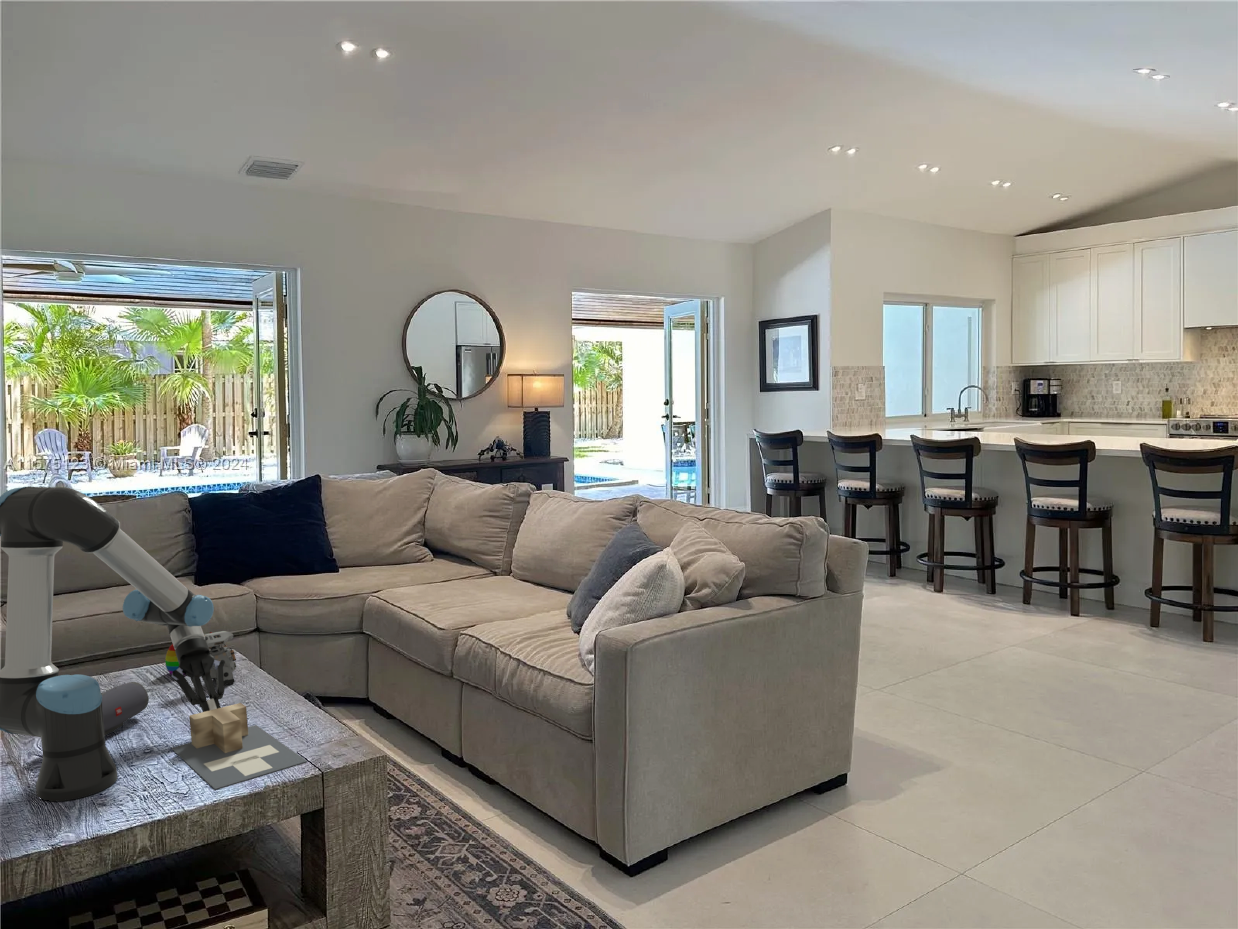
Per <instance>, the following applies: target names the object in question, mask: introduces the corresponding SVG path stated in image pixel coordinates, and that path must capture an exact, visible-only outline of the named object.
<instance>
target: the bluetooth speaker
mask: <svg viewBox="0 0 1238 929" xmlns="http://www.w3.org/2000/svg"><path fill="white" fill-rule="evenodd" d="M101 695H102V709H103V722H104V736H107V735H110V734H111V733H114V732H115V731H117V730H119V729H120V728H122V727H124V725H125V723H126V722H127V721H128V720H130V719H132V718H134V717H135V716H137V715H138V714H140V713H142V711H144V710H145V709H147V706H148V704H149V700H150V698H149V694H148V692H147V690H146V687H144V686H143V685H142V683H140V682H137V681H130V682H126V683H123V684H120V685H118V686H115V687H112V688H110V689H108V690H104V691H103V692H102V691H101Z"/></svg>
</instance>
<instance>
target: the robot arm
mask: <svg viewBox="0 0 1238 929" xmlns="http://www.w3.org/2000/svg"><path fill="white" fill-rule="evenodd" d="M0 539H1V540H0V549H1V550H2V551H3V552H4V553H5V554H6V555H7V557H8V568H7V569H8V570H7V572H8V573H7V574H8V575H7V593H6V594H7V595H6V596H7V597H6V598H7V600H6V625H5V626H6V627H5V649H4V650H5V652H4V653H5V654H4V657H5V658H4V666H3V667H2V668H1V669H0V731H1V732H4V733H8V734H10V735H12V734H13V735H22V736H30V737H35V738H40V742H41V750H42V760H41V761H42V762H41V765H40V768H39V772H38V776H37V779H36V780H37V781H36V783H35V790H36V791H35V792H36V793H35V794H36V797H37V796H38V797H40V798H41V799H44V800H49V801H48V802H65V801H70V800H71V801H72V800H77V799H81V798H85V797H88V796H92V795H94V794H97V793H99V792H102V791H104V790H105V789H106V790H107V789H108V788H109V787H111V786H112V785H114V784H115V783H116V782H117V781H118V769H117V765H116V764H115V762H114V760H113V757H112V756H111V754H110V752H109V750H108V747H107V746H106V738H105V736H106V735H105V736H104V722H103V709H102V695H101V693H102V691H101V686H100V683H99V682H98V680H97V679H95V678H94V677H92V676H89V675H85V674H78V673H77V674H71V675H70V674H61V675H59V673H60V672H59V670H60V669H59V668H58V667H57V666H55V665H54V664H53V663H52V641H53V610H54V607H53V606H54V585H55V584H54V582H55V580H54V578H55V556H56V554H57V553H58V552H59V551H60V550H62V549H63V546H64V545H63V544H64V543H68V544H70V545H73V546H75V547H77V548H78V549H79V550H80V551H82V552H83V553H85V554H93V555H94V556H95V557H97V558H98V559H99V560H101V562H103V563H104V564H106V565H107V566H108V567H109V568H110V569H111V570H112V571H114V572H115V573H116V574H118V575H119V576H120V577H121V578H122V579H123V580H125V581H126V582H127V583H128V584H129V585H131V586H132V587H133V588H135V589H134V590H131V591H130V592H129V593H128V594H127V595H125V597H124V599H123V604H122V612H123V615H124V616H125V617H126V618H128V619H129V620H132V621H133V620H134V621H135V622H141V623H142V622H143V623H148V624H152V625H153V624H154V625H158V626H164V627H166V628H167V631H168V634H169V636H170V639H171V642H172V644H173V646H174V649H175V652H176V656H177V659H178V662H179V667H178V669H177V670H174V671H173V673H172V675H171V680H172V681H173V682H175V683H177V685H178V686H179V687H180V689H181V692H183V693H184V696H186V698H187V700H188V701H189V703H190V704H191V705H192V706H196V705H198V706H199V708H201V710H202V711H201V712H206V711H210V710H214V709H218V708H222V707H221V704H220V701H219V700H221V699H223V697H224V693H225V686H224V678H223V667H224V664H225V661H224V660H221V661H217V660H215V659H214V657H213V656H212V655H211V654H210V649H209V648H208V645H207V642H206V640H205V636H204V634H205V633H204V631H203V628H202V626H204V625H206V624H208V623H209V622H210V620H211V619H212V617H213V615H214V611H215V610H214V609H215V607H214V604H213V601H212V599H211V598H210V597H208V596H206V595H203V594H195V593H194V592H192V591H191V589H188V587H186V586H185V585H184V584H183V583H182V582H181V581H179V580H178V579H177V578H176V577H175V576H174V575H173V574H172V573H171V572H169V570H167V569H166V568H165V567H164V566H163V565H161V563H159V562H158V561H157V559H155V558H154V557H153V556H152V555H150V554H149V553H148V552H147V551H146V550H144V548H142V546H141V545H139V544H138V543H137V542H136V541H135V540H134V539H133V538H132V537H130V536H129V534H127V533H126V532H124V531H123V530H122V529H121V522H120V521H119V520H118V518H116V517H115V516H114V515H113V514H112V513H111V512H109V511H108V510H107V509H106V508H105V507H103V506H102V505H101V504H99V502H97V501H95V500H94V499H93V498H90V496H88V495H86V494H85V493H83V492H81V491H78V490H77V489H72V488H69V487H64V486H56V487H55V486H53V487H52V486H51V487H50V486H31V485H29V486H23V487H15V488H11V489H8V490H7V491H4V492H3V494H1V495H0ZM213 665H214V667H215V670H217V672H216V679H215V680H216V687H215V684H214V682H213V681H214V680H213V679H212V678H211V675H210V670H211V668H212V666H213ZM183 673H184V674H185V675H186V676H187V677H188V678H190V680H191V683H192V685H193V687H194V689H193V688H192V686H191V684H190V683H189V682H188V680H187V678H186V677H185V675H183ZM201 679H202V680H201ZM202 681H203V683H204V685H205V688H206V692H207V694H208V697H209V699H207V695H206V692H205V690H204V685H203V684H202ZM38 797H37V798H38ZM41 799H40V800H41ZM44 800H43V801H44Z"/></svg>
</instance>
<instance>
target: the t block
mask: <svg viewBox="0 0 1238 929" xmlns="http://www.w3.org/2000/svg"><path fill="white" fill-rule="evenodd" d="M247 711H248V710H247V706H246V705H245V704H243V703H242V702H238V703H235V704H231V705H226V706H223V707H221V708H218V709H214V710H210V711H206V712H203V711H201V712H198V713H195V714H190V715H189V728H190V740H191V743H192V745H193V746H194V747H195V748H200V747H204V746H208V745H212V744H215V745H216V746H217V747H219V748H220V749H221V750H222V751H223V752H224V753H227V752H231V751H235V750H238V749H242V748H243V746H242V736H245V735H248V727H249V726H248V725H249V724H248V713H247Z"/></svg>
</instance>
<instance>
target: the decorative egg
mask: <svg viewBox="0 0 1238 929" xmlns="http://www.w3.org/2000/svg"><path fill="white" fill-rule="evenodd" d="M164 659H165V660H164V661H165V667H166V669H167V671H168V673H169V674H170V675H171V676H172V673H173V671H174V670H177V669H178V667H179V662H178V659H177V656H176V652H175V649H174V646H173V643H172V644H171V645H170V646H169V647H168V650H167V651H166V655H165V658H164ZM183 676H185V674H184V673H183Z"/></svg>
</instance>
